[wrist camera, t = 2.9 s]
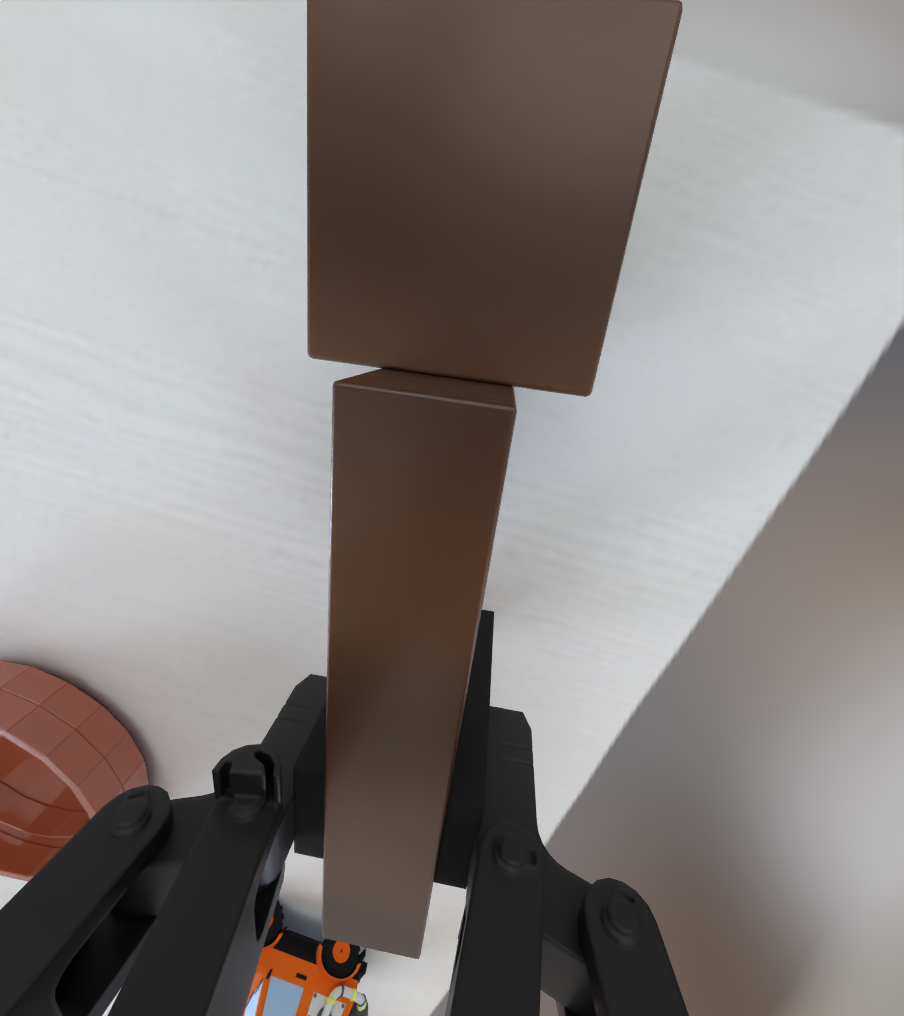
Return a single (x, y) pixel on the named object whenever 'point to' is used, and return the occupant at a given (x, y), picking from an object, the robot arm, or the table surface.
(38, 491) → the table surface
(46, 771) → the bowl
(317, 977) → the toy car
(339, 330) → the brown wooden mallet
